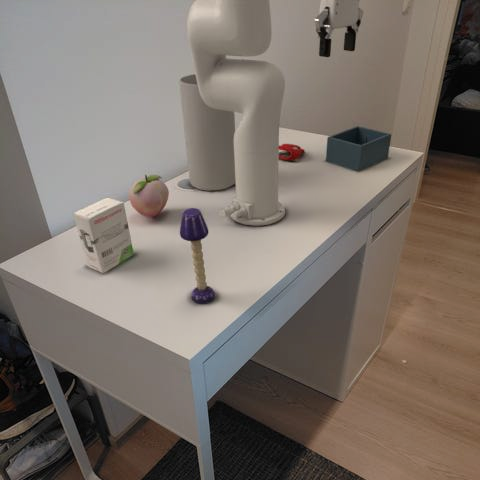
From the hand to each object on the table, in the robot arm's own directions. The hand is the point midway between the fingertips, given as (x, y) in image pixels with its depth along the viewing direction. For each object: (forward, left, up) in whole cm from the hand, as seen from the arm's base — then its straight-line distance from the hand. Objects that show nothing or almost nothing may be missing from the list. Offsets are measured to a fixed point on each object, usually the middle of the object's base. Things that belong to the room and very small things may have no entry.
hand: (337, 53), depth 123 cm
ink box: (-75, -6, -26) cm, 80 cm away
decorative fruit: (-58, +5, -26) cm, 64 cm away
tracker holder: (-8, +10, -26) cm, 29 cm away
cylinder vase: (-35, +10, -26) cm, 45 cm away
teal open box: (+3, -7, -26) cm, 28 cm away
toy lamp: (-70, -29, -26) cm, 80 cm away
